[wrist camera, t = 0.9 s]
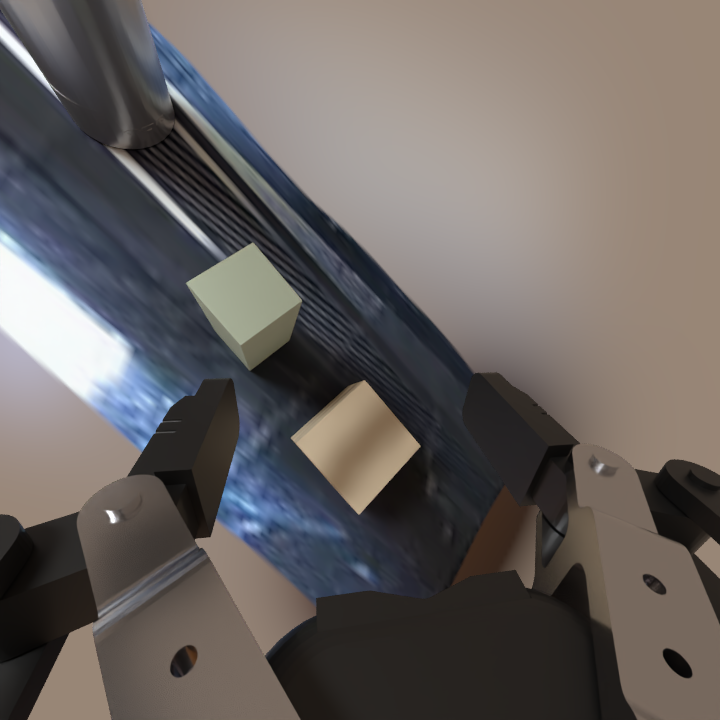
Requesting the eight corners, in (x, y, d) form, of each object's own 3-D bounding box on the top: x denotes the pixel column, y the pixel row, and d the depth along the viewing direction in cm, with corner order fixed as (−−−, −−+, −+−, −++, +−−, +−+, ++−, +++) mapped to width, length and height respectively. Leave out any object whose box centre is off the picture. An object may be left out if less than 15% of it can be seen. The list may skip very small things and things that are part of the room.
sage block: (216, 332, 30) (186, 283, 19) (257, 303, 32) (253, 242, 20) (249, 370, 30) (240, 345, 19) (289, 340, 32) (302, 300, 21)
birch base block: (290, 437, 31) (295, 443, 25) (348, 385, 33) (364, 380, 28) (342, 496, 31) (359, 515, 25) (394, 440, 34) (420, 446, 28)
